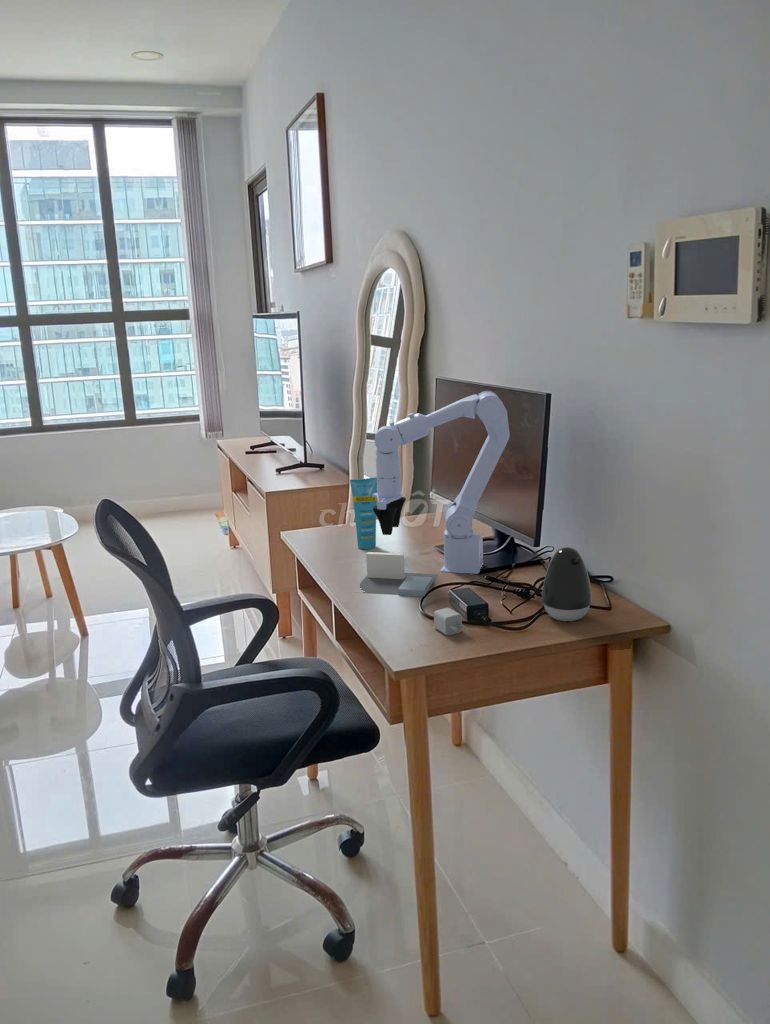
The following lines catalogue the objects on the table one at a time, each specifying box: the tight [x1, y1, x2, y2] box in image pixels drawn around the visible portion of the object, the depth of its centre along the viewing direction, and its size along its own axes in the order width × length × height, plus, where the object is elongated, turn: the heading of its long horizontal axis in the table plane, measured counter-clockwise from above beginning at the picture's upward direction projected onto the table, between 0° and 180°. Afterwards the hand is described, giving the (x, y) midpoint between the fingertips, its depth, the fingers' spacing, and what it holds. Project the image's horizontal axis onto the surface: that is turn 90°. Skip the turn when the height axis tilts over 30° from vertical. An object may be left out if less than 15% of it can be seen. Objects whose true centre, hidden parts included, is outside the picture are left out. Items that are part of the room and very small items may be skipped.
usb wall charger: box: [433, 607, 466, 636], centre depth 171 cm, size 4×7×4 cm, turn 28°
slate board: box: [397, 576, 434, 597], centre depth 196 cm, size 9×6×1 cm, turn 164°
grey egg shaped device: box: [541, 546, 593, 622], centre depth 175 cm, size 10×10×15 cm
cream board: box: [365, 551, 406, 579], centre depth 204 cm, size 9×1×6 cm, turn 74°
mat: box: [359, 572, 439, 597], centre depth 201 cm, size 17×15×1 cm
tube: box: [349, 476, 378, 550], centre depth 228 cm, size 7×5×19 cm, turn 103°
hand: (390, 530), depth 208 cm, fingers open, 6 cm apart
